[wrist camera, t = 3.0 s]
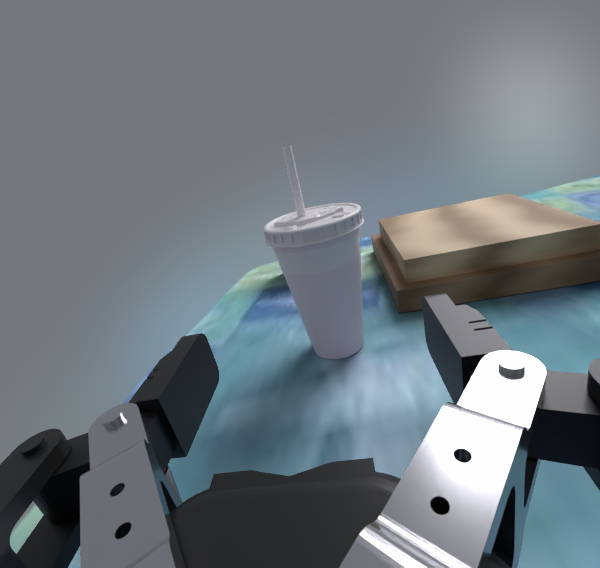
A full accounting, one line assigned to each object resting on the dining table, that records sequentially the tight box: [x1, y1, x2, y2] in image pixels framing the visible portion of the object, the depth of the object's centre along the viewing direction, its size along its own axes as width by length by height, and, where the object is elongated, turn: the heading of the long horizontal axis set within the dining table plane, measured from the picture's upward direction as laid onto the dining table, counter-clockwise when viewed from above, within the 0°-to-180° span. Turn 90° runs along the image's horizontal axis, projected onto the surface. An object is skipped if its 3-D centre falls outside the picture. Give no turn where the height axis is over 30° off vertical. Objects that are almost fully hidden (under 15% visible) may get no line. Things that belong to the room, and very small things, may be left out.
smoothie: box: [263, 145, 364, 359], centre depth 23 cm, size 6×6×14 cm
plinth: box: [371, 193, 600, 313], centre depth 33 cm, size 16×16×4 cm
